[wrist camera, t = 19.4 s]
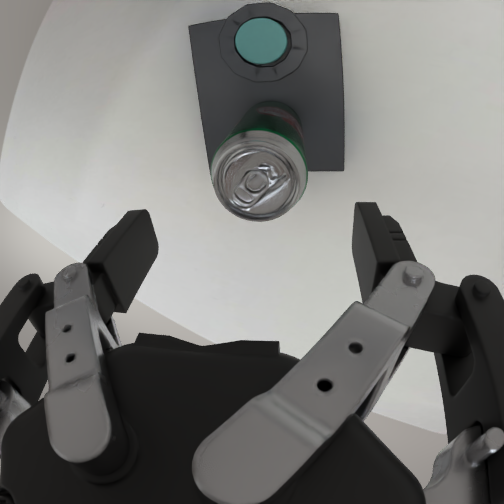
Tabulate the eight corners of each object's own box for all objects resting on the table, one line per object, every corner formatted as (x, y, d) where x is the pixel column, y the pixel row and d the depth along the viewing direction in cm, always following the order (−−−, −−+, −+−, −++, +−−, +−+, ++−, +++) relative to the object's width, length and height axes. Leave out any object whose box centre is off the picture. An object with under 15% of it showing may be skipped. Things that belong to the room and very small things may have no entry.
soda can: (314, 126, 24) (330, 181, 14) (275, 167, 27) (262, 245, 17) (267, 87, 23) (247, 111, 13) (229, 131, 25) (186, 188, 15)
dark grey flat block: (191, 19, 20) (179, 15, 18) (335, 7, 18) (340, 1, 16) (213, 171, 29) (205, 183, 26) (342, 166, 27) (347, 179, 24)
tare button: (236, 23, 18) (232, 20, 17) (285, 18, 18) (284, 15, 16) (241, 65, 20) (237, 66, 19) (289, 62, 20) (289, 62, 18)
